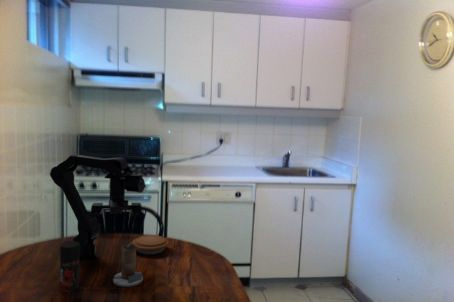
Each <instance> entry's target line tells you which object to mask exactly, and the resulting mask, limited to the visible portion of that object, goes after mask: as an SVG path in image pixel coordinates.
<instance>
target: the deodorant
mask: <svg viewBox="0 0 454 302" xmlns="http://www.w3.org/2000/svg"><path fill="white" fill-rule="evenodd" d="M79 245H80V243H79V242H76V241H73V240H70V241H69V240H68V241H64V242H62V243H60V245H59V253H60V254H59V290H60V291H61V292H64V293H67V292H68V293H69V292H73V291H74V292H75V291H76V290H78V289H79V287H80V259H79Z"/></svg>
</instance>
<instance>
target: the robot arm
mask: <svg viewBox="0 0 454 302" xmlns="http://www.w3.org/2000/svg"><path fill="white" fill-rule="evenodd" d="M79 166H81V167H87V168H94V169H100V170H103V171H104V172H106V173H107V174H106V175H105V176H104V179H109V199H108V200H109V201H108V205H104V203H103V202H94V203H92V204H91V207H90V213H91V214H94V215H95V216H94V217H92V216H91V215H90V213H89V211H88V209H87V207H86V206H85V203H84V201H83V199H82V197H81V195H80V193H79V191H78V189H77V187H76V184H75V174H74V172H75V171H76V170H77V169H78V167H79ZM49 176H50V178H51V180H52V181H53V183H54V184H55V185H56V186H58V188H60V189H61V191H63V194H64V196H65V198H66V200H67V202H68V204H69V206H70V208H71V210H72V212H73V214H74V216H75V219H76V220H77V225H76V226H77V228H76V229H77V232H78V234H77V235H76V236H75V237H74V238H72V239H73V240H72V241H76V242H79V243H80V245H79V260H92V259H94V258H95V255H96V246H97V245H96V243H95V241H96V240H97V238H98V236H99V235H100V234H101V231H102V229H103V231H105V230H106V220H105V211H109V213H110V215H111V214H112V215H114V214H123V213H124V211H129V215H128V216H129V217H128V218H129V219H128V223H127V226H128V227H127V229H128V230H130V227H131V225H132V222H133V220H134V218H135V216H137V215H138V214H140V213H142V203H141V202H131V204H129V200H128V199H126V197H125V196H126V192H130V193H143V192H144V191H145V187H146V182H145V179H144V178H143V174H134V173H133V171H132V169H131V168H130V166H129V165H128V161H127V159H126V158H125V157H112V158H111V157H109V158H104V157H103V158H102V157H98V156H97V157H96V156H87V155H82V154H77V153H76V154H71V155H70V156H69V157H67V158H66V159H65V160H63V161H62V162H60V163H58V165H56V166H53V167H52V168H51V169H50V172H49ZM98 218H99V219H98ZM99 221H100V222H99ZM101 226H102V227H101Z"/></svg>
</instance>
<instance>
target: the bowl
mask: <svg viewBox="0 0 454 302" xmlns="http://www.w3.org/2000/svg"><path fill="white" fill-rule="evenodd" d="M143 278H144V277H143V272H142V271H139V272H138V271H135V274H132V275H129V276H128V280H124V279H122V278H121V272H118V273H117V274H115V275H114V276H113V284H114V285H116V286H117V287H123V288H131V287H135V286H138V285H140V284H141V283H142V282H143Z"/></svg>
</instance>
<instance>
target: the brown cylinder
mask: <svg viewBox="0 0 454 302" xmlns="http://www.w3.org/2000/svg"><path fill="white" fill-rule="evenodd" d="M136 263H137V250H136V246H135V245H134V244H132V242H130V243H124V244H123V245H122V246H121V266H120V267H121V269H120V270H121V271H120V273H121V278H122V279H124V280H128V276H129V275H132V274H135V272H136V266H137V265H136Z"/></svg>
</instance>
